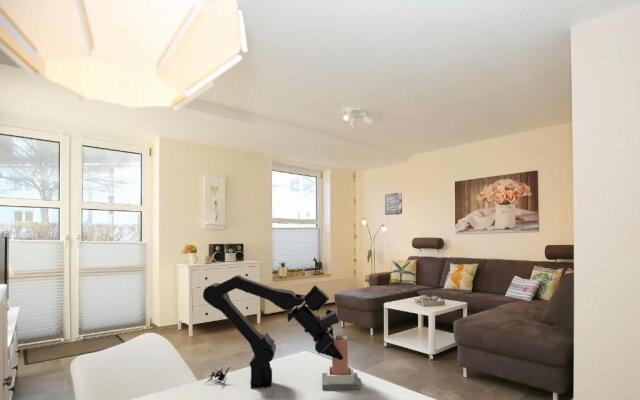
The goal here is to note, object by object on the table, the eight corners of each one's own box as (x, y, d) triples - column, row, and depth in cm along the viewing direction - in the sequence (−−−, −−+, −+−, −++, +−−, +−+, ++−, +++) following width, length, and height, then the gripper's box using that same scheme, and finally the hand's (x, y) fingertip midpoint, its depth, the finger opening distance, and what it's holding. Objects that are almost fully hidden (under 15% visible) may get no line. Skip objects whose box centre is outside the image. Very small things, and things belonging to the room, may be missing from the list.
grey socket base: (322, 389, 122) (322, 376, 122) (322, 377, 132) (322, 365, 132) (359, 389, 122) (359, 376, 122) (356, 377, 132) (356, 365, 132)
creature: (200, 385, 129) (214, 386, 124) (199, 369, 130) (212, 369, 126) (220, 378, 135) (234, 379, 130) (218, 362, 136) (232, 362, 132)
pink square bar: (332, 381, 125) (332, 337, 126) (332, 375, 130) (331, 333, 131) (348, 381, 125) (347, 337, 126) (347, 375, 130) (346, 333, 131)
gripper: (325, 309, 120) (361, 345, 119) (325, 298, 138) (355, 329, 138) (300, 335, 119) (336, 371, 118) (303, 320, 138) (334, 351, 137)
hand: (341, 354), depth 128 cm, fingers open, 9 cm apart
